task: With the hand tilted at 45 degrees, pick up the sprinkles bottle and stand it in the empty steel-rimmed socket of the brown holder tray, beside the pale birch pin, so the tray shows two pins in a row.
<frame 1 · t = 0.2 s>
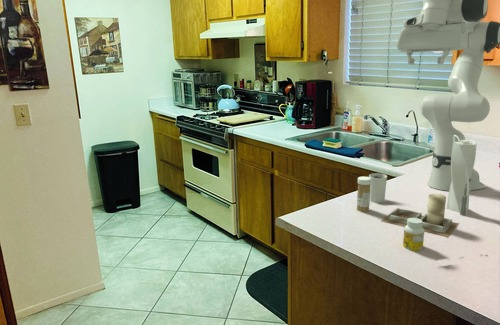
hand: (425, 63, 132), 52 cm above the counter, tool tilted 20°, fingers open, 8 cm apart
birch pin: (434, 225, 129), resting on brown holder tray
brown holder tray: (418, 226, 133), on the counter
supplement bottle: (412, 251, 116), on the counter
skyscraper: (456, 214, 142), on the counter
light grey cylindrical piece: (376, 200, 158), on the counter
sprinkles bottle: (362, 214, 145), on the counter
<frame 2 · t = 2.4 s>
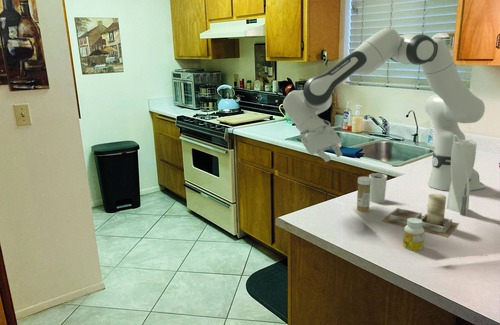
hand: (334, 158, 147), 19 cm above the counter, tool tilted 45°, fingers open, 8 cm apart
nothing on the counter moved.
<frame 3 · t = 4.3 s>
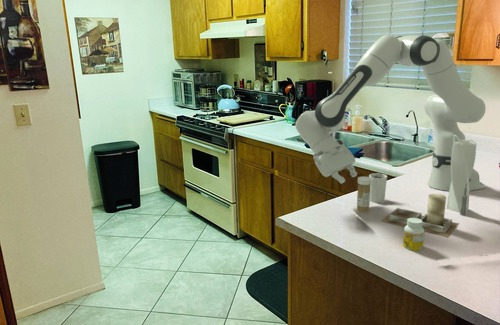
hand: (349, 179, 145), 12 cm above the counter, tool tilted 45°, fingers open, 8 cm apart
nothing on the counter moved.
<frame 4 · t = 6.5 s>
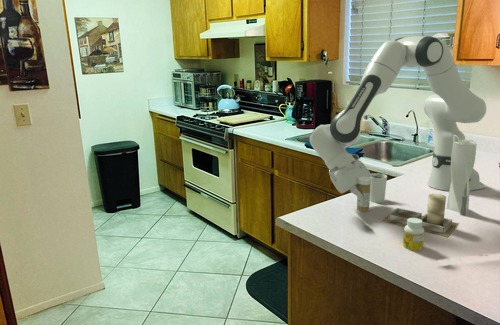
hand: (365, 195, 143), 7 cm above the counter, tool tilted 45°, fingers closed on sprinkles bottle, 4 cm apart
sprinkles bottle: (362, 214, 145), on the counter, touching gripper
everything else where it was.
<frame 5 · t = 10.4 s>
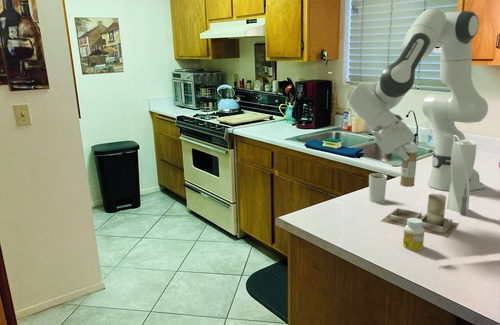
hand: (411, 157, 129), 23 cm above the counter, tool tilted 45°, fingers closed on sprinkles bottle, 4 cm apart
sprinkles bottle: (407, 185, 132), point 13 cm above the counter, touching gripper
everything else where it was.
when the fingers open (11 cm above the counter, at t = 13.4 s): sprinkles bottle stays where it is, resting on brown holder tray.
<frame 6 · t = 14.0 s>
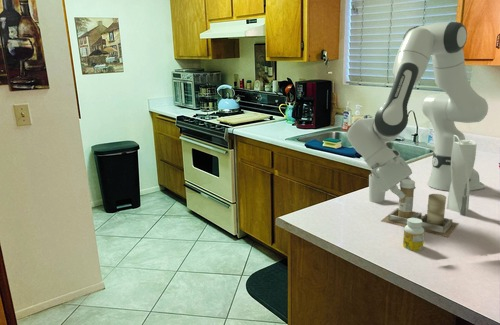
hand: (408, 193, 132), 11 cm above the counter, tool tilted 45°, fingers open, 8 cm apart
sprinkles bottle: (404, 219, 135), point 1 cm above the counter, touching brown holder tray
everything else where it was.
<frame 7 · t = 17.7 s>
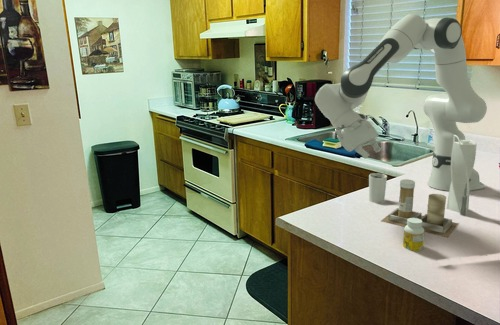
hand: (373, 154, 138), 22 cm above the counter, tool tilted 45°, fingers open, 8 cm apart
nothing on the counter moved.
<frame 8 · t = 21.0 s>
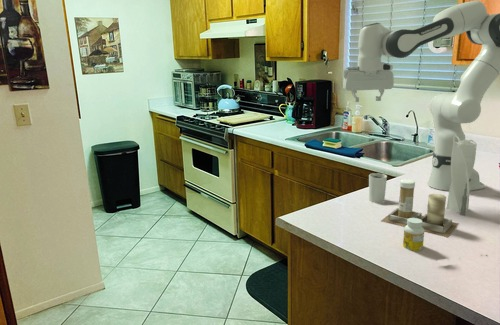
hand: (367, 101, 163), 37 cm above the counter, tool pointing down, fingers open, 8 cm apart
nothing on the counter moved.
at the end: sprinkles bottle 0.1 cm from the target spot on the brown holder tray, point 1.3 cm above the brown holder tray's base; sprinkles bottle tilted 0°; the gripper is holding nothing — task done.
